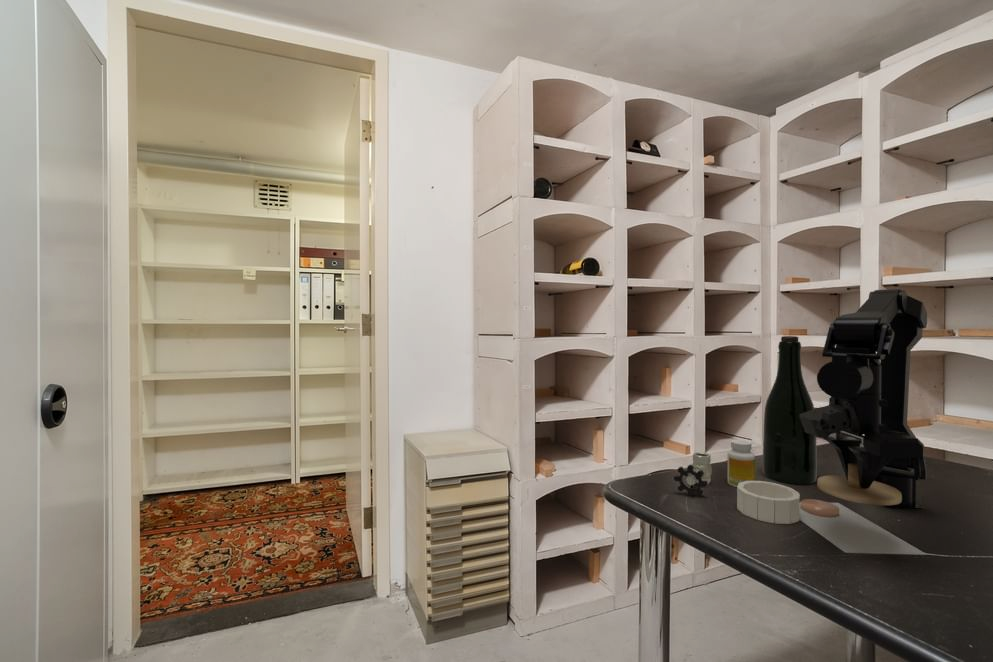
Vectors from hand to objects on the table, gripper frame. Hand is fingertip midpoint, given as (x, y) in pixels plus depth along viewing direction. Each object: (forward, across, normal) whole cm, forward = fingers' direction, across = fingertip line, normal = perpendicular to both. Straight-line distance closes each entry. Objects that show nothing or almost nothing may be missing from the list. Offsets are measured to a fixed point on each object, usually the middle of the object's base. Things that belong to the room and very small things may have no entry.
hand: (857, 484), depth 76 cm
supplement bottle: (+9, -24, -8) cm, 27 cm away
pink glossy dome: (+9, -10, 0) cm, 13 cm away
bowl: (+9, -9, -10) cm, 16 cm away
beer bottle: (+9, -29, +5) cm, 31 cm away
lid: (+1, 0, 0) cm, 1 cm away
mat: (+9, -4, 0) cm, 10 cm away
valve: (+9, -22, -18) cm, 30 cm away
